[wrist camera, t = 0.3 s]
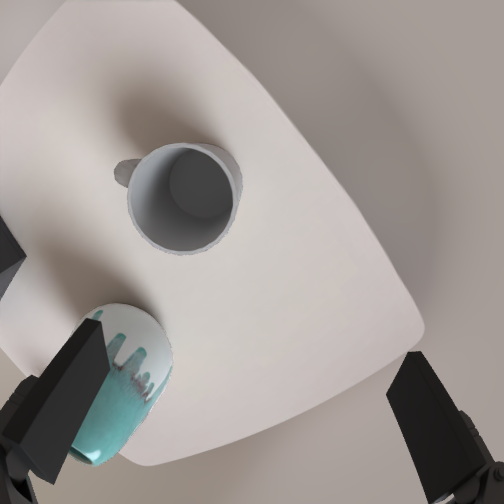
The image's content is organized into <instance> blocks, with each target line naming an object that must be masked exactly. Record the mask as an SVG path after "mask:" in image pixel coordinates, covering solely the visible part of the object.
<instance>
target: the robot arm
mask: <svg viewBox="0 0 504 504" xmlns="http://www.w3.org/2000/svg"><path fill="white" fill-rule="evenodd" d="M110 370H111V369H110V364H109V359H108V355H107V350H106V345H105V339H104V334H103V328H102V322H101V321H98V320H94V319H90V318H85V320H84V321H83V322H82V323H81V324H80V326H79V327H78V328H77V329H76V331H75V332H74V333H73V334H72V336H71V337H70V338H69V339H68V341H67V342H66V343H65V344H64V346H63V347H62V348H61V349H60V351H59V352H58V353H57V355H56V356H55V357H54V358H53V360H52V361H51V362H50V364H49V365H48V366H47V368H46V369H45V370H44V372H43V373H42V374H41V376H40V377H39V378H38V377H35V376H33V375H31V376H29V377H27V378H26V379H24V380H23V381H22V382H21V383H20V384H19V385H18V387H17V388H16V389H15V392H14V393H13V394H12V395H11V396H10V398H9V400H8V401H7V402H6V403H5V405H4V406H3V407H2V409H1V410H0V504H38V502H37V499H36V496H35V493H34V490H33V487H32V484H31V481H30V478H29V476H28V472H29V470H31V471H32V472H33V473H34V474H35V475H36V476H37V477H39V478H41V479H43V480H45V481H47V482H49V483H51V484H53V485H54V483H55V481H56V479H57V476H58V474H59V472H60V469H61V467H62V465H63V463H64V461H65V459H66V456H67V454H68V452H69V450H70V448H71V446H72V444H73V442H74V439H75V437H76V435H77V433H78V431H79V429H80V427H81V425H82V423H83V421H84V419H85V417H86V415H87V413H88V411H89V409H90V407H91V405H92V403H93V402H94V400H95V398H96V396H97V394H98V392H99V390H100V388H101V386H102V384H103V383H104V381H105V379H106V377H107V375H108V373H109V372H110ZM386 396H387V398H388V400H389V403H390V405H391V408H392V410H393V412H394V415H395V417H396V419H397V422H398V424H399V427H400V429H401V432H402V434H403V437H404V439H405V442H406V444H407V447H408V449H409V452H410V454H411V457H412V460H413V462H414V465H415V467H416V470H417V473H418V476H419V478H420V481H421V484H422V486H423V489H424V492H425V495H426V498H427V501H428V504H435V503H438V502H440V501H443V500H445V499H446V498H447V497H448V496H450V495H451V494H452V493H453V494H454V498H452V499H451V500H450V501H449V502H447V503H446V504H504V463H503V462H499V461H498V462H495V461H494V460H493V458H492V456H491V454H490V452H489V450H488V449H487V447H486V445H485V443H484V441H483V439H482V438H481V436H479V432H478V431H477V429H475V425H474V424H473V422H472V420H471V418H470V417H468V415H467V414H465V413H464V412H463V411H462V410H461V411H458V409H457V407H456V406H455V404H454V402H453V401H452V399H451V397H450V396H449V394H448V392H447V391H446V389H445V388H444V386H443V384H442V383H441V381H440V380H439V378H438V377H437V375H436V373H435V372H434V370H433V369H432V367H431V366H430V364H429V363H428V361H427V360H426V358H425V357H424V355H423V354H422V352H421V351H418V352H417V351H416V352H408V353H407V355H406V357H405V359H404V361H403V363H402V365H401V367H400V369H399V371H398V373H397V375H396V377H395V379H394V380H393V382H392V384H391V386H390V388H389V389H388V391H387V393H386Z"/></svg>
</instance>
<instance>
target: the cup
mask: <svg viewBox="0 0 504 504" xmlns="http://www.w3.org/2000/svg"><path fill="white" fill-rule="evenodd" d="M114 175H115V180H116V181H117V182H118V183H119V184H121V185H122V186H124V187H126V188H128V193H127V203H128V211H129V214H130V217H131V219H132V222H133V225H134V226H135V228H136V229H137V231H138V232H139V233H140V235H141V236H142V237H143V238H144V239H145V240H146V241H147V242H148V243H150V244H151V245H152V246H154V247H156V248H157V249H159V250H161V251H163V252H166V253H170V254H175V255H193V254H197V253H200V252H204V251H206V250H208V249H209V248H211V247H213V246H214V245H216V244H218V243H219V241H220V240H221V239H222V238H223V237H224V236H225V235H226V234H227V233H228V231H229V229H230V227H231V225H232V223H233V221H234V219H235V215H236V212H237V208H238V205H239V201H240V197H241V193H242V188H243V184H242V175H241V172H240V168H239V166H238V164H237V163H236V161H235V160H234V158H233V157H232V156H231V155H230V154H229V153H227V152H226V151H225V150H223V149H221V148H219V147H217V146H215V145H210V144H204V143H176V144H168V145H165V146H163V147H160V148H158V149H155V150H154V151H152V152H151V153H150V154H148V155H147V156H146V157H144V158H143V159H131V160H124V161H121V162H119V163H118V165H117V166H116V167H115V169H114Z"/></svg>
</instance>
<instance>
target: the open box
mask: <svg viewBox="0 0 504 504" xmlns="http://www.w3.org/2000/svg"><path fill="white" fill-rule="evenodd" d="M26 257H27V256H26V255H25V253H24V252H23V250H22V249H21V248H20V246H19V245H18V243H17V242H16V240H15V239H14V237H13V236H12V234H11V232H10V231H9V229H8V228H7V226H6V225H5V223H4V221H3V220H2V218H1V216H0V300H1V298H2V296H3V295H4V293H5V291H6V289H7V288H8V286H9V284H10V282H11V281H12V279H13V277H14V276H15V274H16V272H17V271H18V269H19V268H20V266H21V264H22V263H23V261H24V260H25V258H26Z"/></svg>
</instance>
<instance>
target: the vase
mask: <svg viewBox="0 0 504 504" xmlns="http://www.w3.org/2000/svg"><path fill="white" fill-rule="evenodd" d="M85 318H90V319H94V320H98V321H101V322H102V328H103V334H104V339H105V345H106V350H107V355H108V359H109V364H110V369H111V370H110V372H109V373H108V375H107V377H106V379H105V381H104V383H103V384H102V386H101V388H100V390H99V392H98V394H97V396H96V398H95V400H94V402H93V403H92V405H91V407H90V409H89V411H88V413H87V415H86V417H85V419H84V421H83V423H82V425H81V427H80V429H79V431H78V433H77V435H76V437H75V439H74V442H73V444H72V446H71V448H70V450H69V452H68V455H69V456H71V457H72V458H74V459H75V460H77V461H79V462H81V463H83V464H86V465H89V466H98V465H100V464H102V463H104V462H106V461H108V460H109V459H111V458H112V457H113V456H115V455H116V454H117V453H118V452H119V451H120V450H121V448H122V447H123V446H124V445H125V444H126V442H127V441H128V440H129V438H130V437H131V436H132V434H133V433H134V432H135V430H136V429H137V428H138V427H139V426H140V425H141V424H142V422H143V421H144V420H145V419H146V417H147V416H148V414H149V413H150V411H151V410H152V409H153V407H154V406H155V404H156V403H157V402H158V400H159V399H160V397H161V395H162V394H163V392H164V391H165V389H166V387H167V385H168V382H169V379H170V376H171V373H172V368H173V352H172V347H171V344H170V341H169V339H168V336H167V334H166V333H165V331H164V329H163V328H162V327H161V325H160V324H159V323H158V322H157V321H156V320H155V319H154V318H153V317H152V316H151V315H149V314H148V313H147V312H145V311H143V310H141V309H139V308H137V307H134V306H131V305H127V304H120V303H113V304H106V305H102V306H99V307H97V308H95V309H93V310H91V311H90V312H88V313H87V314H86V315H85V316H84V317H83V318H82V319H81V320H80V321H79V322H78V323H77V325H76V326H75V328H74V330H73V331H72V333H71V335H70V337H71V336H72V334H73V333H74V332H75V331H76V329H77V328H78V327H79V326H80V324H81V323H82V322H83V321H84V320H85ZM70 337H69V338H70Z"/></svg>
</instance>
